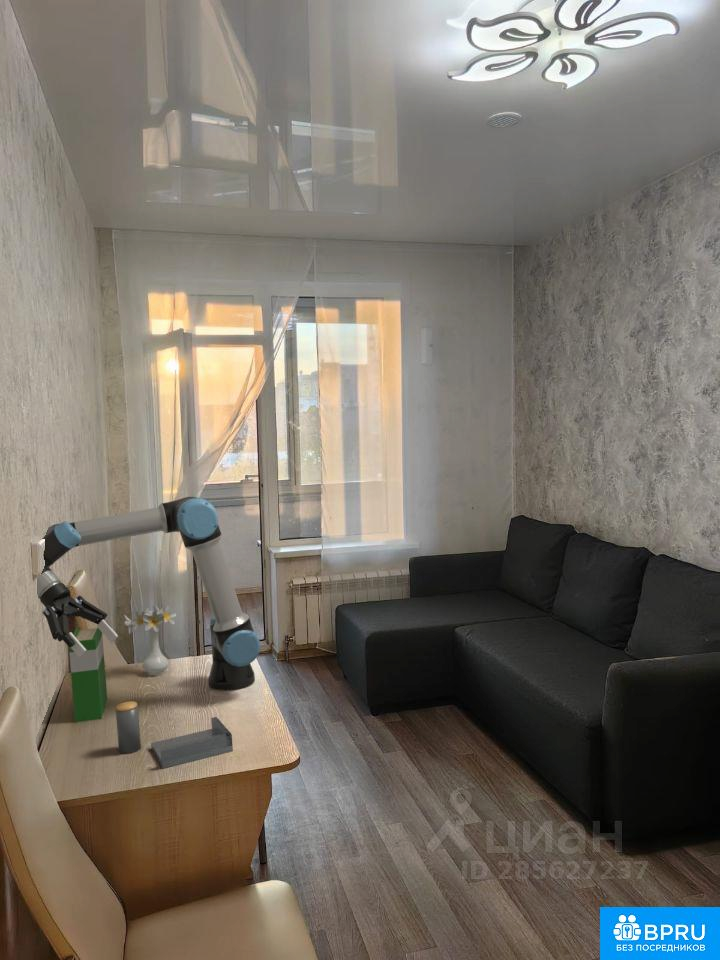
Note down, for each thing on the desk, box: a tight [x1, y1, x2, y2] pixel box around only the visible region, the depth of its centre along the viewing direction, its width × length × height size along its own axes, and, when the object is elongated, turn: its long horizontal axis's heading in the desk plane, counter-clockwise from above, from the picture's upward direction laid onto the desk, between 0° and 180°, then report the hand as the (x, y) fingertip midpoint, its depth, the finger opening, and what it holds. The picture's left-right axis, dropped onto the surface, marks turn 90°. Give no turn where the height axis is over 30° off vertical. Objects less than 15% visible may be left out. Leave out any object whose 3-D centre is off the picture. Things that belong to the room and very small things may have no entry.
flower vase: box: [124, 604, 177, 677], centre depth 258 cm, size 12×18×24 cm
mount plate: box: [150, 716, 234, 769], centre depth 193 cm, size 18×14×4 cm
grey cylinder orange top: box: [115, 701, 142, 755], centre depth 195 cm, size 6×6×12 cm
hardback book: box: [68, 627, 108, 723], centre depth 225 cm, size 18×7×24 cm, turn 14°
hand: (99, 646), depth 201 cm, fingers open, 13 cm apart
